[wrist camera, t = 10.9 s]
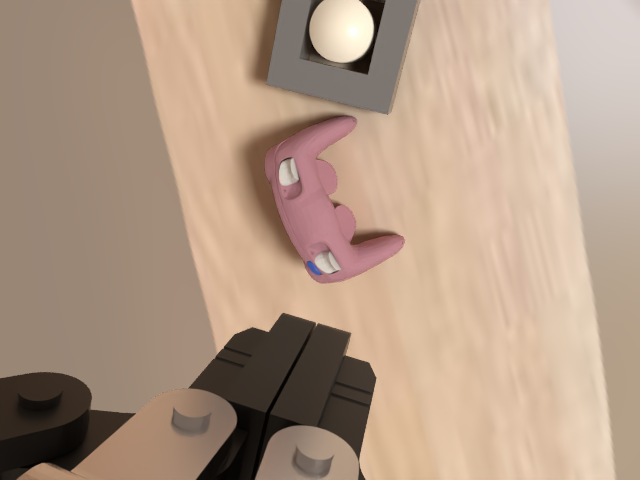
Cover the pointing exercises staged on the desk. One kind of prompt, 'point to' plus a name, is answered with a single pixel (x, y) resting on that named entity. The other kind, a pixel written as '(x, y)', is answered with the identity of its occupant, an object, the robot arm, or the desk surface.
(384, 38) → the button panel
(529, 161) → the desk surface
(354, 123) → the video game controller
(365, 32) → the cream button
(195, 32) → the desk surface
